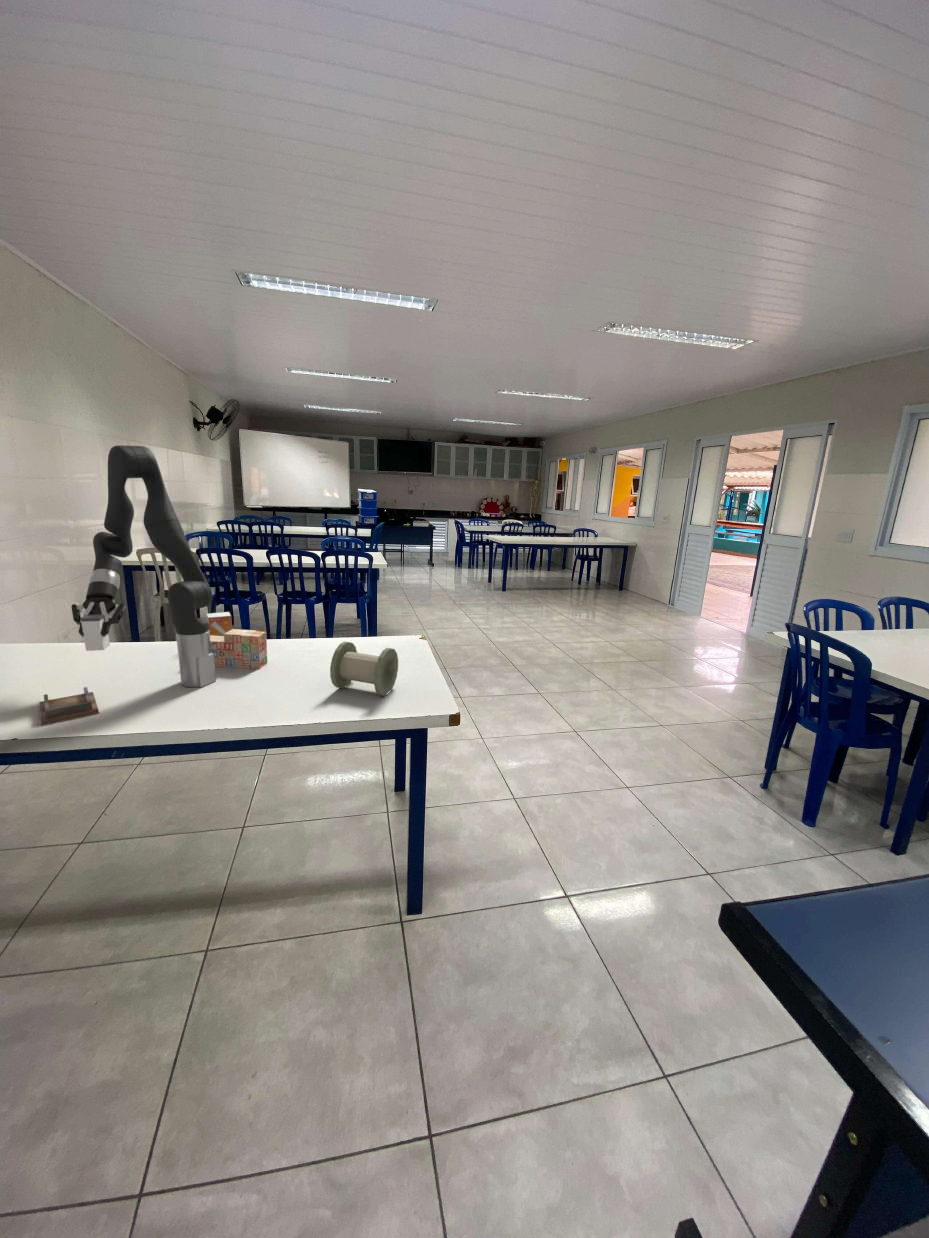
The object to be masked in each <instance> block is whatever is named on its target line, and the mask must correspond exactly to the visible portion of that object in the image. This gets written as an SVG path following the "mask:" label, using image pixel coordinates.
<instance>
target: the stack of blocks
mask: <svg viewBox="0 0 929 1238" xmlns="http://www.w3.org/2000/svg"><path fill="white" fill-rule="evenodd" d="M210 644H211V653H213V654H214V661H215V667H216V666H217V667H229V668H243V669H252V670H253V669H255V670H256V669H257V670H260V669H261V668H263V667H264V666H266V665H267V664H268V650H267V649H268V648H267V646H268V643H267V631H258V630H253V629H237V628H236V629H235V628H232V630H230V631H228V632H227V633H225V634H224V636H213V635H210Z"/></svg>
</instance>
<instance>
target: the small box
mask: <svg viewBox="0 0 929 1238" xmlns="http://www.w3.org/2000/svg"><path fill="white" fill-rule="evenodd" d="M205 615H206V621H208V623H209V633H210V635H213V636H224V634H225V633H227V632H228V631H230V630H232V629H233V624H232V615H231V613H230V611H225V612H224V611H223V612H212V613H206V614H205Z"/></svg>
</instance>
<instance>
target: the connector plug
mask: <svg viewBox="0 0 929 1238" xmlns="http://www.w3.org/2000/svg"><path fill="white" fill-rule="evenodd" d="M81 623H82V629H83V633H84V637H83V641H84V647H85V652H89V651H90V652H92V651H105V650H106V649H107V648H109V647H110V646H111V643H110V637H109V633H108V634H106V636H102V635H101V629H102V624H103V623H104V615H102V614H89V615H85V616H84V617H83V616H81Z"/></svg>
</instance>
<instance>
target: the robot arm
mask: <svg viewBox="0 0 929 1238" xmlns="http://www.w3.org/2000/svg"><path fill="white" fill-rule="evenodd" d="M128 479H141V480H142V481H143V483H144V486H145V489H146V493H147V500H146V505H145V509H144V513H143V526H144V529H145V531H146V534H147V535H148V537H149V538H148V539H149V540H150V542H151V544H152V546H153V547H154V548H155V549H156V550H157V551H158V553H160V554H161V555H162V556H164V557H165V558H166V559H167V560H168V561H169V562H171V564H173V565H174V566H175V568H176V569H177V570H178V572H179V574H180V576H181V578H182V580H183V581H177V582H175V583H173V584H171V585H170V586H169V588H168V592H167V600H168V607H169V612H170V618H171V623H172V625H173V627H174V629H175V635H176V636H175V638H176V647H177V655H178V657H177V658H178V664H179V665H178V666H179V672H180V673H179V675H180V683H181V686H183V687H186V688H203V687H205V686H207V685H209V684H212V683H214V682H216V681H217V676H216V674H217V673H216V666H215V661H214V654H213V653H211V644H210V633H209V623H208V621H207V619H202V618H197V613H196V610H199V609H203V608H206V607H209V606H210V605H211V603H212V601H213V593H212V588H211V586H210V584H209V581H208V580H207V578H206V576H205V574H204V573H203V571H202V569H201V568H200V566H199V563H198V562H197V560H196V558H195V555H194V553H193V551H192V549H191V546H190V545H189V542H188V540H187V537H186V534H185V532H184V530H183V527H182V524H181V523H180V520H179V518H178V516H177V513H176V511H175V509H174V507H173V505H172V501H171V500H170V496H169V494H168V491H167V489H166V486H165V482H164V479H163V475H162V473H161V469H160V466H159V464H158V460H157V459H156V456H155V454H154V453H153V451H152V450H150V448H149V447H146V446H142V445H120V444H119V445H114V446H112V447H111V448H110V449H109V453H108V456H107V497H108V498H107V507H106V509H105V510H106V511H105V516H104V521H103V527H104V529H105V530H106V531H99V532H97V533H96V534H95V535H94V536H93V538H92V545H93V550H94V556H95V557H94V558H95V560H94V566H93V569H92V574H91V576H90V579H89V582H88V587H87V591H86V594H85V601H83V602H82V604H76V603H73V604H71V606H70V607H71V613H72V618H73V622H75V623H76V625H78V626H79V629H78V634H80V635H81V637H82V638H84V633H83V629H82V623H81V618H82V617H84V616H85V615H89V614H102V615H104V623H103V624H102V629H101V635H102V636H106V634H108V635H109V633H110V629H111V626H112V625H114V624H115V625H117V624H119V622H120V621H121V619H122V618H123V616H124V614H125V612H126V611H127V608H126V606H125V604H124V603H117V600H118V595H119V594H118V593H119V590H120V586H121V585H120V584H121V580H120V579H121V574H122V569H123V563H122V561H121V560H120V559H119V558H122V559H123V558H127V557H129V556H130V555H131V554H132V552H133V549H134V546H133V539H132V534H131V529H132V525H133V520H134V516H135V507H134V505H133V503H132V500H131V498H129V496H128V494H127V492H126V487H125V486H126V482H127V481H128ZM83 610H85V611H84V612H83ZM114 610H115V611H114ZM112 611H114V613H113V615H112V616H111V613H112ZM82 612H83V615H82V616H81V613H82Z"/></svg>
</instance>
